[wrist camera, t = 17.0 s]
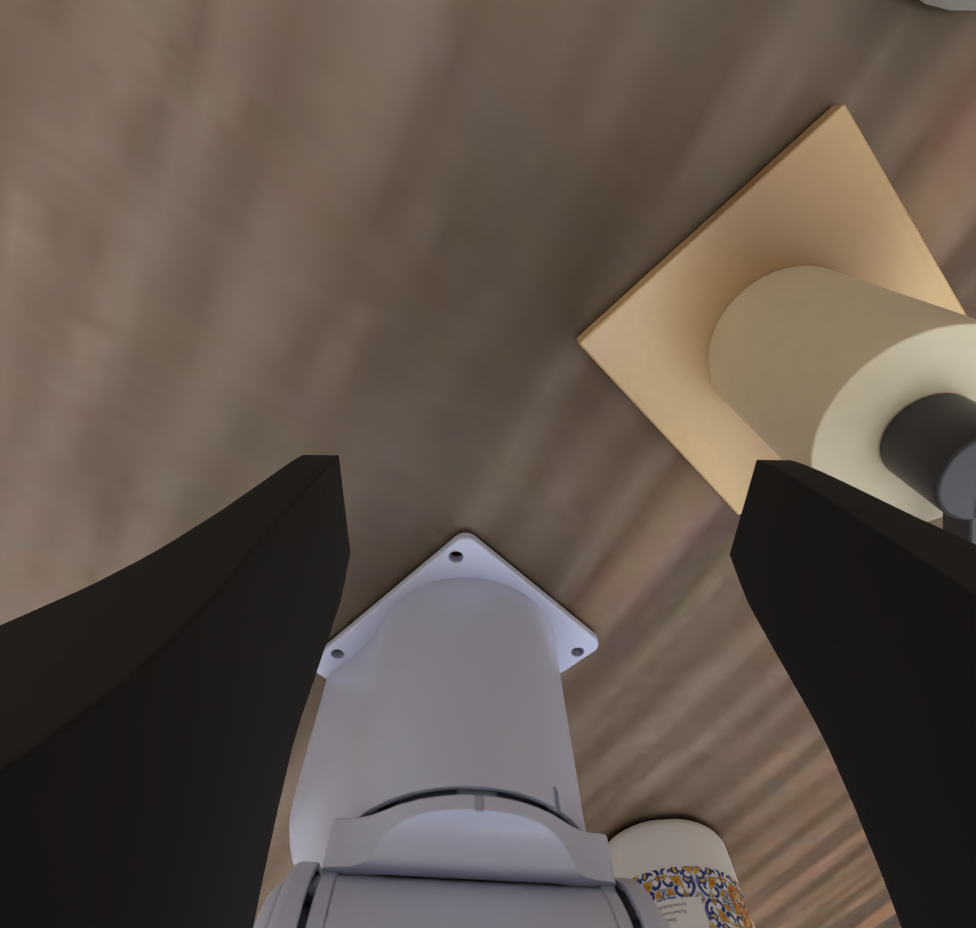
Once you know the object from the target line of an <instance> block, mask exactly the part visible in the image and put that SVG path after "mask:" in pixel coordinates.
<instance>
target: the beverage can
mask: <svg viewBox="0 0 976 928" xmlns="http://www.w3.org/2000/svg"><path fill="white" fill-rule="evenodd" d="M920 1H921V2H923V3H924V4H927V5H931V6H935V7H939V8H942V9H946V10H966V11H975V10H976V0H920Z"/></svg>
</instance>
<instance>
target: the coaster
mask: <svg viewBox="0 0 976 928" xmlns="http://www.w3.org/2000/svg"><path fill="white" fill-rule="evenodd" d="M807 265H808V266H819V267H823V268H827V269H830V270H833V271H836V272H839V273H842V274H845V275H848V276H851V277H854V278H857V279H860V280H863V281H866V282H869V283H872V284H875V285H878V286H881V287H883V288H886V289H889V290H892V291H895V292H898V293H901V294H904V295H907V296H910V297H913V298H916V299H919V300H922V301H925V302H928V303H931V304H933V305H936V306H939V307H942V308H945V309H948V310H951V311H954V312H957V313H960V314H963V315H966V314H965V312H964V310H963V308H962V307H961V305H960V303H959V302H958V300H957V298H956V296H955V295H954V293H953V291H952V289H951V288H950V286H949V284H948V282H947V281H946V279H945V277H944V275H943V274H942V272H941V270H940V269H939V267H938V265H937V263H936V262H935V260H934V258H933V256H932V255H931V253H930V251H929V249H928V248H927V246H926V244H925V243H924V241H923V239H922V237H921V236H920V234H919V232H918V230H917V229H916V227H915V225H914V223H913V222H912V220H911V218H910V216H909V215H908V213H907V211H906V210H905V208H904V206H903V204H902V203H901V201H900V199H899V197H898V196H897V194H896V192H895V190H894V189H893V187H892V185H891V184H890V182H889V180H888V178H887V177H886V175H885V173H884V171H883V170H882V168H881V166H880V164H879V163H878V161H877V159H876V157H875V156H874V154H873V152H872V151H871V149H870V147H869V145H868V144H867V142H866V140H865V138H864V137H863V135H862V133H861V131H860V130H859V128H858V126H857V124H856V123H855V121H854V119H853V118H852V116H851V114H850V112H849V111H848V109H847V107H846V105H844V104H840V105H834V106H832V107H830V108H829V109H828V110H827V111H826V112H825V113H824V114H823V115H822V116H821V117H819V118H818V119H817V120H816V121H815V122H814V123H813V124H812V125H811V126H810V127H808V128H807V129H806V130H805V131H804V132H803V133H802V134H801V135H800V136H799V137H797V138H796V139H795V140H794V141H793V142H792V143H791V144H790V145H789V146H787V147H786V148H785V149H784V150H783V151H782V152H781V153H780V154H779V155H778V156H776V157H775V158H774V159H773V160H772V161H771V162H770V163H769V164H768V165H767V166H765V167H764V168H763V169H762V170H761V171H760V172H759V173H758V174H757V175H756V176H754V177H753V178H752V179H751V180H750V181H749V182H748V183H747V184H746V185H745V186H743V187H742V188H741V189H740V190H739V191H738V192H737V193H736V194H735V195H734V196H732V197H731V198H730V199H729V200H728V201H727V202H726V203H725V204H724V205H723V206H721V207H720V208H719V209H718V210H717V211H716V212H715V213H714V214H713V215H712V216H710V217H709V218H708V219H707V220H706V221H705V222H704V223H703V224H702V225H700V226H699V227H698V228H697V229H696V230H695V231H694V232H693V233H692V234H691V235H689V236H688V237H687V238H686V239H685V240H684V241H683V242H682V243H681V244H680V245H678V246H677V247H676V248H675V249H674V250H673V251H672V252H671V253H670V254H669V255H667V256H666V257H665V258H664V259H663V260H662V261H661V262H660V263H659V264H658V265H656V266H655V267H654V268H653V269H652V270H651V271H650V272H649V273H648V274H647V275H645V276H644V277H643V278H642V279H641V280H640V281H639V282H638V283H637V284H636V285H634V286H633V287H632V288H631V289H630V290H629V291H628V292H627V293H626V294H624V295H623V296H622V297H621V298H620V299H619V300H618V301H617V302H616V303H615V304H613V305H612V306H611V307H610V308H609V309H608V310H607V311H606V312H605V313H604V314H602V315H601V316H600V317H599V318H598V319H597V320H596V321H595V322H594V323H593V324H591V325H590V326H589V327H588V328H587V329H586V330H585V331H584V332H583V333H582V334H580V335H579V336H578V337H577V341H578V343H579V345H580V346H581V347H582V348H583V349H584V350H585V351H586V352H587V353H588V354H589V355H590V356H591V358H592V359H593V360H594V361H595V362H596V363H597V364H598V365H599V366H600V367H601V368H602V369H603V370H604V372H605V373H606V374H607V375H608V376H609V377H610V378H611V379H612V380H613V381H614V382H615V383H616V384H617V385H618V387H619V388H620V389H621V390H622V391H623V392H624V393H625V394H626V395H627V396H628V397H629V398H630V399H631V401H632V402H633V403H634V404H635V405H636V406H637V407H638V408H639V409H640V410H641V411H642V412H643V413H644V414H645V416H646V417H647V418H648V419H649V420H650V421H651V422H652V423H653V424H654V425H655V426H656V427H657V428H658V430H659V431H660V432H661V433H662V434H663V435H664V436H665V437H666V438H667V439H668V440H669V441H670V442H671V443H672V445H673V446H674V447H675V448H676V449H677V450H678V451H679V452H680V453H681V454H682V455H683V456H684V457H685V459H686V460H687V461H688V462H689V463H690V464H691V465H692V466H693V467H694V468H695V469H696V470H697V471H698V473H699V474H700V475H701V476H702V477H703V478H704V479H705V480H706V481H707V482H708V483H709V484H710V485H711V486H712V488H713V489H714V490H715V491H716V492H717V493H718V494H719V495H720V496H721V497H722V498H723V499H724V500H725V502H726V503H727V504H728V505H729V506H730V507H731V508H732V509H733V510H734V511H735V512H736V513H737V514H738V515H740V514H741V513H742V510H743V506H744V503H745V499H746V496H747V492H748V489H749V485H750V482H751V478H752V475H753V471H754V467H755V464H756V460H782V459H781V458H780V457H779V456H778V455H777V454H776V453H775V452H774V451H773V450H772V449H771V448H770V447H769V446H768V445H767V444H766V443H765V442H764V441H763V440H762V439H761V438H760V437H759V436H758V435H757V434H756V433H755V432H754V431H753V430H752V429H751V428H750V427H749V426H748V425H747V424H746V423H745V422H744V421H743V420H742V419H741V418H740V417H739V416H738V415H737V413H736V412H735V411H734V410H733V409H732V408H731V407H730V406H729V405H728V404H727V403H726V402H725V401H724V400H723V399H722V398H721V397H720V396H719V394H718V393H717V392H716V390H715V388H714V386H713V384H712V381H711V378H710V375H709V369H708V351H709V345H710V341H711V337H712V334H713V332H714V329H715V327H716V325H717V323H718V321H719V319H720V317H721V315H722V314H723V313H724V311H725V310H726V308H727V307H728V306H729V305H730V303H731V302H732V301H733V300H734V299H735V298H736V297H737V296H738V295H739V294H740V293H741V292H742V291H743V290H744V289H746V288H747V287H748V286H750V285H751V284H752V283H754V282H756V281H757V280H759V279H761V278H762V277H764V276H766V275H768V274H771V273H773V272H775V271H778V270H782V269H785V268H789V267H795V266H807ZM966 316H967V315H966Z"/></svg>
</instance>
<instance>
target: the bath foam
mask: <svg viewBox="0 0 976 928" xmlns="http://www.w3.org/2000/svg"><path fill="white" fill-rule="evenodd" d="M608 845H609V851H610V856H611V861H612V866H613V871H614V877H615V878H628V879H631V880H634V881H636V882H638V883H639V884H640V885H641V886H642V887H644V888H645V890H646V891H647V892H648V894H649V895H650V896H651V898H652V899H653V901H654V902H655V904H656V906H657V908H658V909H659V911H660V912H661V913H662V914H663V916H664V917H665V918H666V920H667V921H668V923H669V924H670V926H671V928H755V926H754V923H753V921H752V918H751V915H750V912H749V910H748V907H747V904H746V901H745V898H744V896H743V893H742V890H741V887H740V885H739V883H738V880H737V877H736V875H735V872H734V869H733V866H732V864H731V861H730V858H729V855H728V853H727V850H726V847H725V845H724V843H723V842H722V840H721V839H720V837H719V836H718V835H717V834H716V833H715V832H714V831H712V830H711V829H710V828H708V827H706V826H704V825H702V824H700V823H697V822H693V821H689V820H683V819H661V820H652V821H647V822H643V823H639V824H637V825H634V826H631V827H629V828H627V829H625V830H623V831H622V832H620V833H619V834H617V835H616V836H615V837H613V838H612V839H611V840H610V841H609V842H608Z"/></svg>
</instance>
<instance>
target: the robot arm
mask: <svg viewBox="0 0 976 928" xmlns="http://www.w3.org/2000/svg"><path fill="white" fill-rule="evenodd" d="M454 551H458V552H460V553H462V554H461V555H459V556H454V555H451V553H452V552H454ZM349 555H350V547H349V538H348V530H347V522H346V513H345V505H344V496H343V488H342V479H341V471H340V462H339V455H302V456H300V457H299V458H297V459H295V460H293V461H292V462H290V463H289V464H287V465H286V466H284V467H283V468H282V469H280V470H279V471H277V472H276V473H274V474H273V475H272V476H270V477H269V478H267V479H266V480H265V481H263V482H262V483H260V484H259V485H258V486H256V487H255V488H253V489H252V490H250V491H249V492H247V493H246V494H245V495H243V496H242V497H240V498H239V499H237V500H236V501H234V502H233V503H232V504H230V505H229V506H227V507H226V508H224V509H223V510H221V511H220V512H218V513H217V514H215V515H214V516H212V517H210V518H209V519H207V520H206V521H204V522H202V523H201V524H199V525H198V526H196V527H194V528H193V529H191V530H190V531H188V532H187V533H185V534H183V535H182V536H180V537H179V538H177V539H175V540H174V541H172V542H171V543H169V544H167V545H166V546H164V547H162V548H160V549H159V550H157V551H155V552H154V553H152V554H150V555H148V556H146V557H144V558H143V559H141V560H139V561H137V562H135V563H134V564H132V565H130V566H128V567H126V568H124V569H122V570H120V571H118V572H116V573H114V574H112V575H110V576H108V577H106V578H104V579H103V580H101V581H99V582H97V583H94V584H92V585H90V586H88V587H86V588H84V589H82V590H80V591H77V592H75V593H73V594H71V595H68V596H66V597H64V598H62V599H59V600H57V601H55V602H53V603H50V604H48V605H46V606H44V607H41V608H39V609H37V610H34V611H32V612H30V613H28V614H25V615H23V616H21V617H19V618H16V619H14V620H12V621H10V622H7V623H5V624H2V625H0V928H671V926H670V924H669V923H668V921H667V920H666V918H665V917H664V916H663V914H662V913H661V912H660V911H659V909H658V908H657V906H656V904H655V902H654V901H653V899H652V898H651V896H650V895H649V894H648V892H647V891H646V890H645V888H644V887H642V886H641V885H640V884H639V883H638V882H636V881H634V880H631V879H628V878H615V877H614V871H613V866H612V861H611V856H610V851H609V845H608V840H607V836H606V835H604V834H601V833H592V832H588V831H586V830H585V824H584V818H583V811H582V805H581V799H580V793H579V787H578V781H577V775H576V769H575V762H574V756H573V750H572V744H571V738H570V732H569V726H568V719H567V713H566V707H565V701H564V695H563V689H562V683H561V677H560V674H561V673H562V672H564V671H565V670H567V669H568V668H570V667H571V666H573V665H574V664H576V663H577V662H579V661H580V660H582V659H583V658H585V657H586V656H588V655H589V654H591V653H592V652H594V651H595V650H596V649H597V648H598V645H599V644H598V639H597V636H596V634H595V633H594V632H593V631H591V630H590V629H589V628H588V627H586V626H585V625H584V624H583V623H581V622H580V621H579V620H578V619H577V618H575V617H574V616H573V615H572V614H570V613H569V612H568V611H567V610H566V609H564V608H563V607H562V606H561V605H559V604H558V603H557V602H556V601H554V600H553V599H552V598H551V597H550V596H548V595H547V594H546V593H545V592H543V591H542V590H541V589H540V588H539V587H537V586H536V585H535V584H534V583H532V582H531V581H530V580H529V579H527V578H526V577H525V576H524V575H523V574H521V573H520V572H519V571H518V570H516V569H515V568H514V567H513V566H511V565H510V564H509V563H508V562H507V561H505V560H504V559H503V558H502V557H500V556H499V555H498V554H497V553H496V552H494V551H493V550H492V549H491V548H489V547H488V546H487V545H486V544H484V543H483V542H482V541H481V540H480V539H478V538H477V537H476V536H474V535H473V534H471V533H460V534H458V535H457V536H455V537H454V538H453V539H452V540H450V541H449V542H448V543H447V544H446V545H444V546H443V547H442V548H441V549H440V550H439V551H437V552H436V553H435V554H434V555H433V556H431V557H430V558H429V559H428V560H427V561H425V562H424V563H423V564H422V565H421V566H419V567H418V568H417V569H416V570H415V571H413V572H412V573H411V574H410V575H409V576H407V577H406V578H405V579H404V580H403V581H402V582H400V583H399V584H398V585H397V586H396V587H394V588H393V589H392V590H391V591H390V592H388V593H387V594H386V595H385V596H384V597H382V598H381V599H380V600H379V601H378V602H376V603H375V604H374V605H373V606H372V607H370V608H369V609H368V610H367V611H366V612H365V613H363V614H362V615H361V616H360V617H359V618H357V619H356V620H355V621H354V622H353V623H351V624H350V625H349V626H348V627H347V628H345V629H344V630H343V631H342V632H341V633H339V634H338V635H337V636H336V637H335V638H333V639H332V640H331V641H330V642H329V643H328V644H326V643H327V640H328V638H329V635H330V632H331V629H332V626H333V623H334V620H335V617H336V614H337V611H338V608H339V604H340V601H341V596H342V592H343V587H344V582H345V577H346V571H347V566H348V561H349ZM730 556H731V559H732V562H733V564H734V567H735V570H736V573H737V576H738V578H739V581H740V584H741V586H742V589H743V591H744V593H745V596H746V598H747V601H748V603H749V605H750V607H751V609H752V611H753V613H754V614H755V616H756V618H757V620H758V622H759V623H760V625H761V627H762V629H763V631H764V632H765V634H766V636H767V638H768V640H769V641H770V643H771V645H772V647H773V648H774V650H775V652H776V654H777V655H778V657H779V659H780V661H781V662H782V664H783V666H784V668H785V669H786V671H787V673H788V675H789V676H790V678H791V680H792V682H793V683H794V685H795V687H796V689H797V690H798V692H799V694H800V696H801V697H802V699H803V701H804V703H805V704H806V706H807V708H808V710H809V711H810V713H811V715H812V717H813V719H814V721H815V722H816V724H817V726H818V728H819V730H820V732H821V734H822V736H823V738H824V740H825V742H826V744H827V746H828V748H829V750H830V752H831V755H832V757H833V759H834V762H835V764H836V766H837V768H838V771H839V773H840V775H841V777H842V780H843V782H844V784H845V786H846V789H847V791H848V793H849V796H850V798H851V800H852V802H853V805H854V807H855V809H856V812H857V814H858V817H859V819H860V822H861V824H862V827H863V829H864V832H865V834H866V836H867V839H868V841H869V844H870V846H871V849H872V851H873V854H874V856H875V859H876V861H877V864H878V866H879V868H880V871H881V873H882V876H883V878H884V881H885V884H886V887H887V889H888V892H889V895H890V897H891V900H892V903H893V906H894V908H895V911H896V914H897V916H898V919H899V922H900V925H901V927H902V928H976V544H974V543H972V542H970V541H967V540H965V539H963V538H961V537H958V536H956V535H954V534H952V533H949V532H947V531H945V530H943V529H941V528H939V527H936V526H934V525H932V524H930V523H928V522H926V521H924V520H921V519H919V518H917V517H915V516H913V515H911V514H909V513H907V512H905V511H903V510H901V509H899V508H897V507H894V506H892V505H890V504H888V503H886V502H884V501H882V500H880V499H878V498H876V497H874V496H872V495H870V494H868V493H866V492H864V491H862V490H859V489H857V488H855V487H853V486H851V485H849V484H847V483H845V482H843V481H841V480H839V479H837V478H834V477H832V476H830V475H828V474H826V473H823V472H821V471H819V470H817V469H814V468H812V467H809V466H807V465H804V464H801V463H798V462H795V461H792V460H756V464H755V467H754V471H753V475H752V478H751V482H750V485H749V489H748V492H747V496H746V499H745V503H744V506H743V510H742V513H741V517H740V520H739V524H738V527H737V531H736V534H735V538H734V541H733V545H732V548H731V552H730ZM574 648H579V649H574ZM336 650H341V651H336ZM316 673H318V674H320V675H321V676H323V677H324V678H326V679H327V680H326V684H325V687H324V691H323V695H322V698H321V702H320V705H319V709H318V712H317V716H316V720H315V723H314V727H313V730H312V734H311V738H310V741H309V745H308V748H307V752H306V756H305V759H304V763H303V766H302V770H301V773H300V777H299V781H298V784H297V788H296V791H295V795H294V799H293V802H292V807H291V813H290V821H289V840H290V850H291V856H292V861H293V865H294V867H292V869H291V870H290V872H289V873H288V875H287V876H286V877H285V878H284V879H283V880H282V881H281V882H280V883H279V884H278V885H276V886H275V887H274V888H273V889H272V890H271V891H270V893H269V894H268V896H267V897H266V899H265V901H264V903H263V905H262V907H261V909H260V912H259V914H258V916H257V919H256V922H255V924H254V920H255V915H256V910H257V905H258V900H259V895H260V890H261V885H262V880H263V875H264V870H265V866H266V861H267V857H268V852H269V847H270V843H271V838H272V833H273V829H274V824H275V819H276V815H277V810H278V806H279V802H280V797H281V793H282V789H283V784H284V780H285V776H286V772H287V767H288V763H289V759H290V754H291V750H292V746H293V743H294V739H295V736H296V733H297V729H298V726H299V722H300V719H301V716H302V713H303V710H304V707H305V704H306V701H307V699H308V696H309V693H310V690H311V687H312V684H313V681H314V678H315V675H316ZM253 925H254V927H253Z"/></svg>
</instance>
